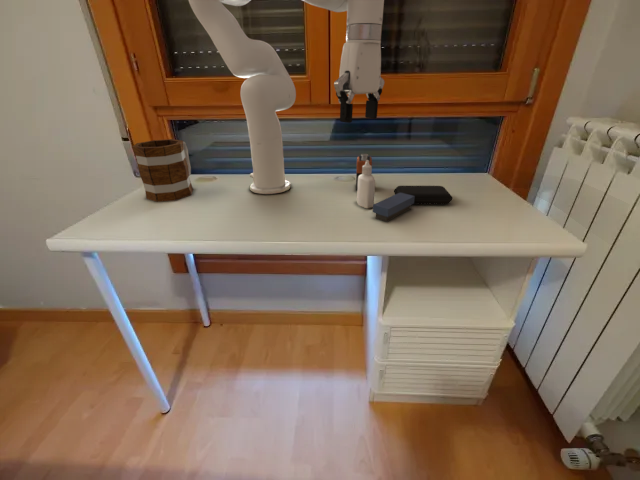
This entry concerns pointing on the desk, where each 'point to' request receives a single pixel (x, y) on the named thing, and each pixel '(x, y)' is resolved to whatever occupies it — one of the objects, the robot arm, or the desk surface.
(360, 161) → the battery
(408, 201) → the navy rectangular block
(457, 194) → the desk surface
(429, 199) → the carrying case
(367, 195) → the eye dropper bottle
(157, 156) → the mug
